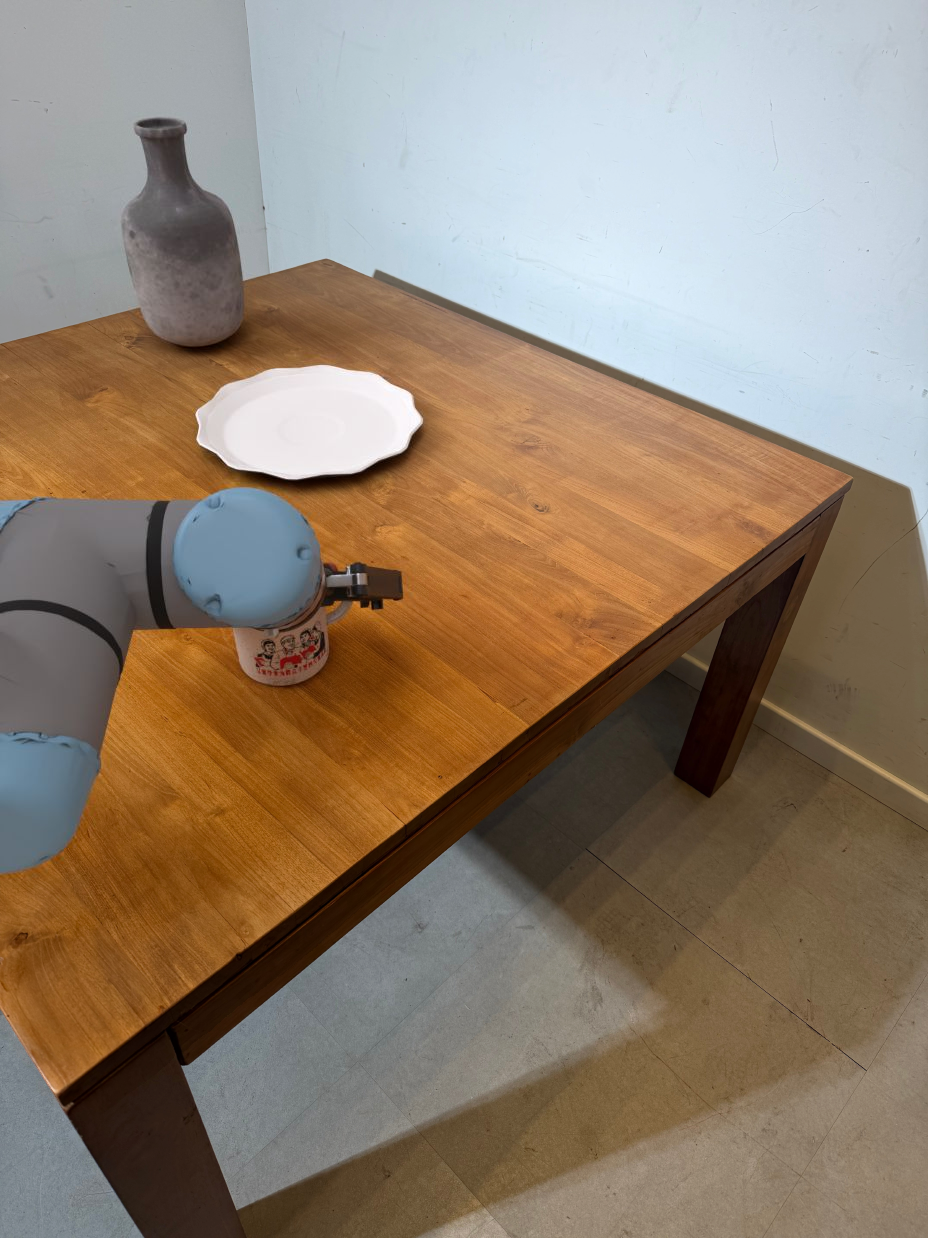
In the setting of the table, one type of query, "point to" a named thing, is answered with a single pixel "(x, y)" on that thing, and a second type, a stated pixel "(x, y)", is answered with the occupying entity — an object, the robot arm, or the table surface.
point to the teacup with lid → (288, 649)
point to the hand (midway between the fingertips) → (292, 598)
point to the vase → (181, 246)
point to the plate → (308, 422)
